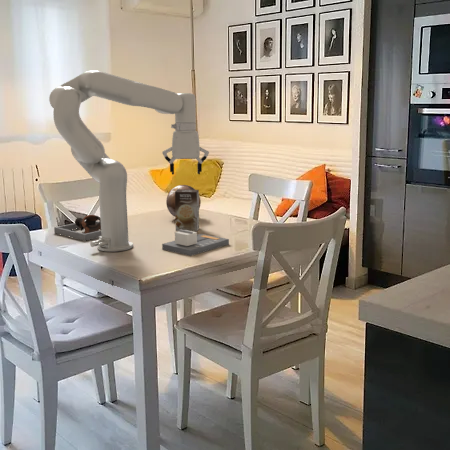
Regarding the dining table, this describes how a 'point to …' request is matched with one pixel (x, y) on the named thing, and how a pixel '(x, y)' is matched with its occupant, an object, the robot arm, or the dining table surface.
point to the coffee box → (187, 209)
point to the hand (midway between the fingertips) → (185, 174)
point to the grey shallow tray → (67, 231)
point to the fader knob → (185, 237)
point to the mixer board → (197, 245)
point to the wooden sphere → (171, 198)
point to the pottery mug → (88, 223)
